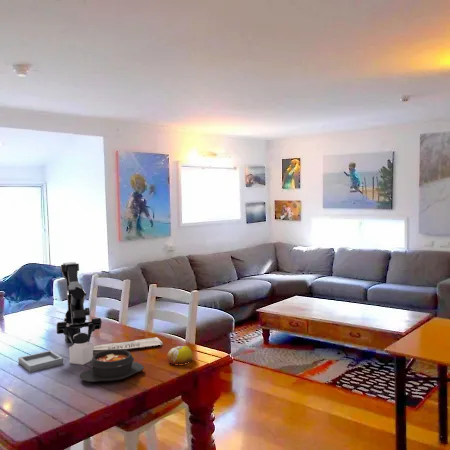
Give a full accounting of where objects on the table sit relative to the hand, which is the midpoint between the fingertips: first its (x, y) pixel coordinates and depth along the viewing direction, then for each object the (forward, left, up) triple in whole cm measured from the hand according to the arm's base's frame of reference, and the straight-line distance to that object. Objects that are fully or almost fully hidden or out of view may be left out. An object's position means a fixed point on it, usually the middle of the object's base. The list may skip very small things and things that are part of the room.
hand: (81, 342), depth 202 cm
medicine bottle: (0, -1, -9) cm, 9 cm away
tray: (+14, -11, -9) cm, 19 cm away
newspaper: (-23, -4, -9) cm, 25 cm away
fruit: (-31, +28, -9) cm, 43 cm away
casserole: (-2, +23, -9) cm, 25 cm away
